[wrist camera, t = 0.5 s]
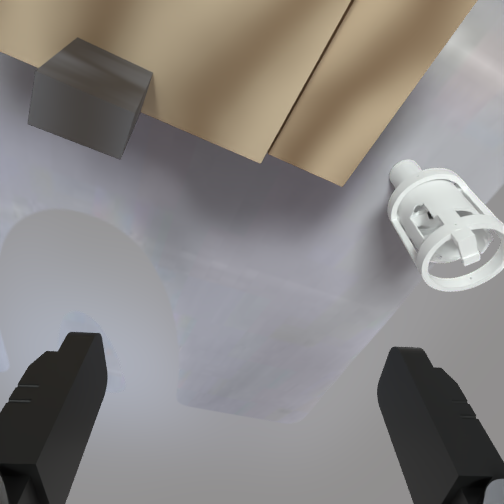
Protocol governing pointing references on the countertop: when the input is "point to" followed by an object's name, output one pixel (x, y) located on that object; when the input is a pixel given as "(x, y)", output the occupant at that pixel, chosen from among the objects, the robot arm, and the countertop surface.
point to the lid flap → (167, 65)
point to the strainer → (443, 224)
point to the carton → (363, 81)
